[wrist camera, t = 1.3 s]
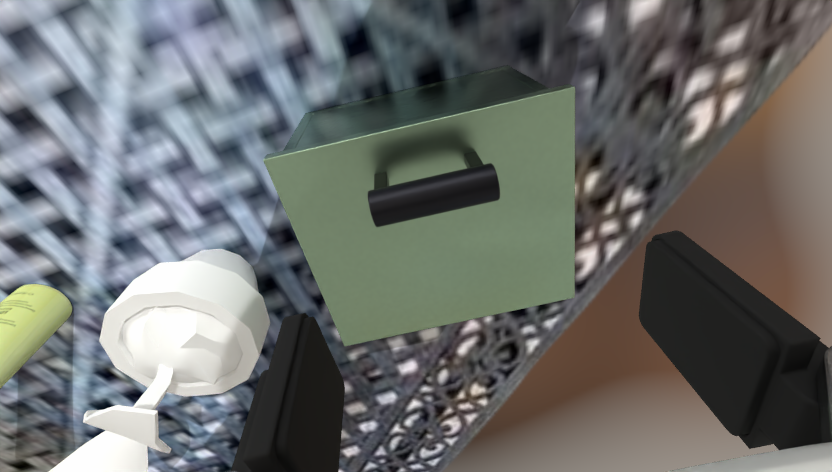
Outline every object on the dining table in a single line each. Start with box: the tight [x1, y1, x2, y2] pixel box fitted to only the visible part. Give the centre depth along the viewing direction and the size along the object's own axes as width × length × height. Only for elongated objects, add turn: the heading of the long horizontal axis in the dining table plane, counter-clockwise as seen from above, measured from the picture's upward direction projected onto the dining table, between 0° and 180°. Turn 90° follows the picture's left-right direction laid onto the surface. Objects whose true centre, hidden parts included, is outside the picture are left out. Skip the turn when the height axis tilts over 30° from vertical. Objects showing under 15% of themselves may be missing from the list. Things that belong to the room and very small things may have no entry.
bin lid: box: [263, 84, 575, 346], centre depth 23 cm, size 14×17×5 cm
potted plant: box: [49, 249, 270, 472], centre depth 29 cm, size 13×12×25 cm
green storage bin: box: [283, 65, 549, 151], centre depth 30 cm, size 14×17×12 cm
